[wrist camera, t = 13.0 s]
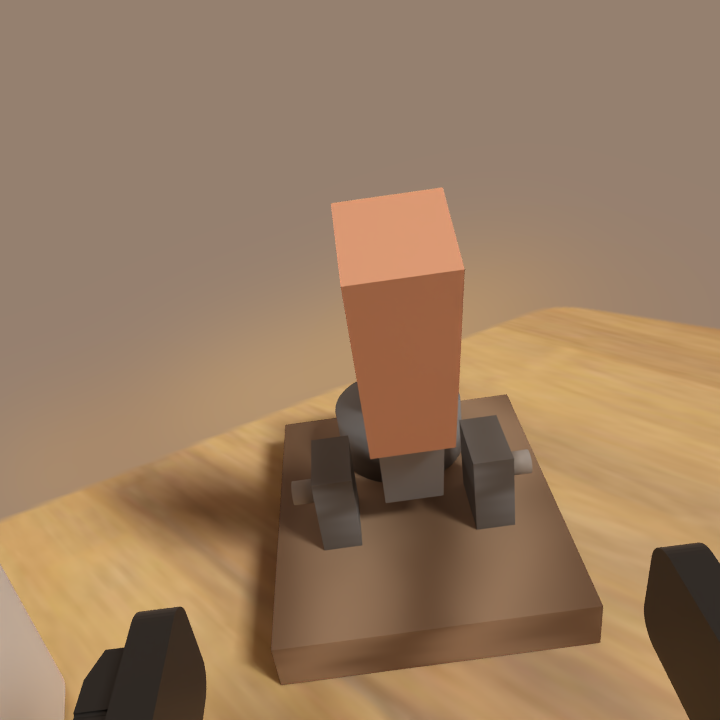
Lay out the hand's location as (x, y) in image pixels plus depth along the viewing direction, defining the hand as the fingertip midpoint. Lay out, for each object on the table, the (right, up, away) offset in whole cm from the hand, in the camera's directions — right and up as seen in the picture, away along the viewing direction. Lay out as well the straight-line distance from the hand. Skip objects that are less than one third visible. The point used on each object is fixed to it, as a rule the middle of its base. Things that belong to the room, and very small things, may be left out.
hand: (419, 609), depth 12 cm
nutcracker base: (+2, -4, +20) cm, 20 cm away
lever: (+1, -1, +17) cm, 17 cm away
